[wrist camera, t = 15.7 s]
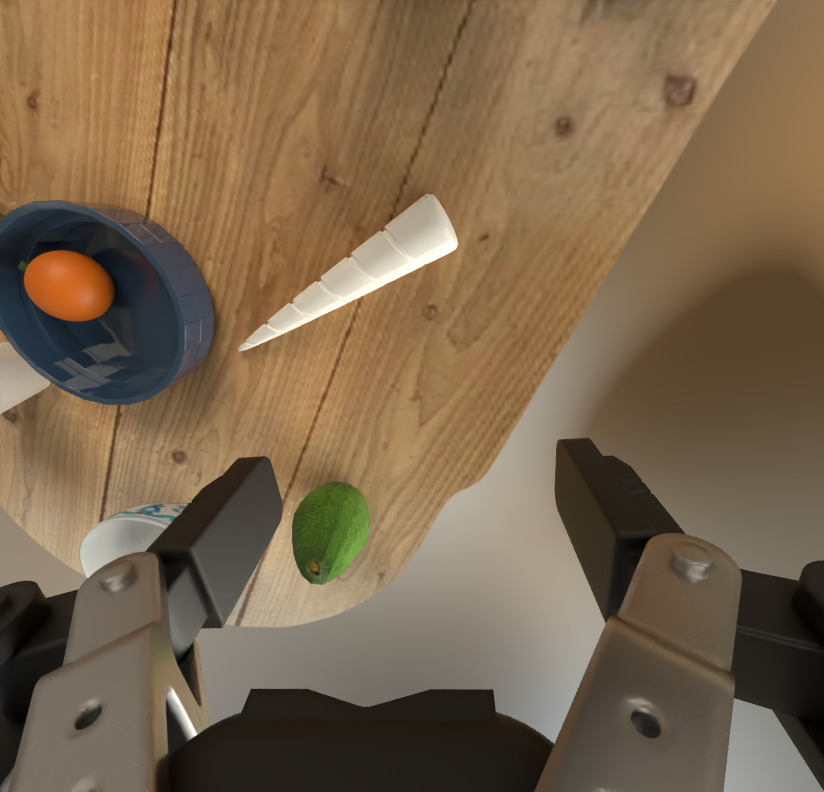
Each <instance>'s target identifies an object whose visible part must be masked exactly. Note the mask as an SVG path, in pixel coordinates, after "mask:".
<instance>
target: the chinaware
mask: <svg viewBox="0 0 824 792" xmlns="http://www.w3.org/2000/svg"><path fill="white" fill-rule="evenodd" d="M187 505H188V504H171V503H151V504H144V505H140V506H136V507H132V508H129V509H127V510H124V511H121V512H119V513H117V514H115V515H113V516H111V517H109V518H107V519H105V520H103V521H102V522H100V523H98V524H97V525H95V526H94V527H93V528H91V529H90V530H89V531H88V532H87V533H86V534H85V536H84V537H83V539H82V541H81V544H80V548H79V560H80V564H81V567H82V570H83V572H84V574H85V576H86V578H87V579H88V578H89V577H90V576H91V575H92V574H93V573H94V572H96V571H97V570H98V569H100V568H101V567H103V566H104V565H106V564H107V563H109V562H111V561H113V560H115V559H117V558H119V557H122V556H125V555H127V554H131V553H135V552H145V551H146V550H147V549H148V548H149V546H150V545H151V544H152V543H153V542H154V541H155V540H156V539H157V538H158V537H159V536H160V534H161V533H162V532H163V531H164V530H165V529H166V528H167V527H168V526H169V525H170V524H171V523H172V521H173V520H174V519H175V518H176V517H177V516H178V515H179V514H182V511H183V509H184V508H185V507H186V506H187Z"/></svg>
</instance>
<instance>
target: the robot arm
mask: <svg viewBox="0 0 824 792" xmlns="http://www.w3.org/2000/svg"><path fill="white" fill-rule="evenodd" d="M555 499H556V505H557V509H558V512H559V514H560V517H561V519H562V521H563V524H564V526H565V529H566V531H567V533H568V535H569V537H570V540H571V543H572V545H573V547H574V550H575V552H576V554H577V557H578V559H579V562H580V564H581V566H582V568H583V571H584V573H585V576H586V578H587V580H588V583H589V585H590V587H591V590H592V592H593V594H594V597H595V599H596V602H597V604H598V606H599V609H600V611H601V613H602V615H603V618H604V620H605V623H606V625H605V628H604V629H603V632H602V634H601V636H600V639H599V641H598V643H597V646H596V648H595V650H594V653H593V655H592V657H591V660H590V662H589V664H588V667H587V669H586V672H585V674H584V676H583V679H582V681H581V683H580V686H579V688H578V690H577V693H576V695H575V697H574V700H573V702H572V704H571V707H570V709H569V711H568V714H567V716H566V719H565V721H564V723H563V726H562V728H561V730H560V733H559V735H558V737H557V740H556V742H555V744H554V743H553V742H551V741H550V740H549V739H547V738H546V737H545V736H544V735H542V734H541V733H539V732H538V731H536V730H535V729H533V728H531V727H529V726H528V725H526V724H525V723H522V722H520V721H518V720H516V719H514V718H512V717H510V716H507V715H503V714H500V713H497V712H496V710H495V702H494V693H493V690H456V689H455V690H453V689H452V690H451V689H448V690H447V689H440V690H439V689H434V690H432V689H431V690H427V691H424V692H420V693H417V694H413V695H410V696H406V697H403V698H399V699H396V700H392V701H389V702H386V703H382V704H378V705H375V706H370V707H361V706H357V705H354V704H351V703H348V702H345V701H342V700H339V699H336V698H333V697H330V696H327V695H324V694H321V693H318V692H315V691H312V690H309V689H251V691H250V693H249V695H248V698H247V700H246V703H245V705H244V707H243V710H242V712H241V713H238V714H235V715H233V716H230V717H228V718H226V719H223V720H221V721H219V722H217V723H215V724H214V725H212V726H211V724H210V719H209V714H208V707H207V701H206V694H205V687H204V680H203V674H202V667H201V660H200V654H199V648H198V645H197V642H196V640H195V637H196V636H197V634H198V632H199V631H200V629H201V628H223V626H224V624H225V623H226V621H227V619H228V617H229V615H230V614H231V612H232V610H233V608H234V606H235V604H236V603H237V601H238V599H239V597H240V595H241V593H242V592H243V590H244V588H245V586H246V584H247V582H248V581H249V579H250V577H251V575H252V573H253V571H254V570H255V568H256V566H257V564H258V562H259V560H260V559H261V557H262V555H263V553H264V551H265V549H266V548H267V546H268V544H269V542H270V540H271V538H272V537H273V535H274V533H275V531H276V529H277V527H278V526H279V524H280V521H281V518H282V511H283V505H282V499H281V496H280V492H279V489H278V485H277V482H276V478H275V475H274V471H273V468H272V464H271V462H270V460H269V458H267V457H265V456H262V457H246V458H238V459H237V460H236V461H235V462H234V463H233V464H232V465H231V466H230V468H229V469H228V470H227V471H226V472H225V473H224V474H223V476H220V477H219V478H217V479H216V480H214V481H213V482H211V483H210V484H208V485H207V486H205V487H204V488H203V489H202V490H201V491H200V492H199V493H198V494H197V495H196V496H195V497H194V499H193V500H192V503H189V504H188V505H187V506H186V507H185V508H184V509H183V511H182V514H179V515H178V516H177V517H176V518H175V519H174V520H173V521H172V523H171V524H170V525H169V526H168V527H167V528H166V529H165V530H164V531H163V532H162V533H161V534H160V536H159V537H158V538H157V539H156V540H155V541H154V542H153V543H152V544H151V545H150V546H149V548H148V549H147V550H146V551H145V552H135V553H131V554H127V555H125V556H122V557H119V558H117V559H115V560H113V561H111V562H109V563H107V564H106V565H104V566H103V567H101V568H100V569H98V570H97V571H96V572H94V573H93V574H92V575H91V576H90V577H89V578H88V579H87V580H86V581H85V582H84V583H83V584H82V585H81V587H80V589H79V590H74V591H71V592H67V593H63V594H60V595H56V596H52V597H49V598H46V597H45V596H44V594H43V593H42V591H41V589H40V588H39V586H38V585H37V583H35V582H33V581H20V582H16V583H12V584H9V585H6V586H3V587H0V792H723V790H724V781H725V771H726V763H727V754H728V745H729V735H730V727H731V718H732V709H733V700H734V698H736V699H739V700H742V701H746V702H749V703H752V704H755V705H759V706H762V707H765V708H768V709H772V710H773V712H774V713H775V715H776V716H777V718H778V720H779V721H780V723H781V724H782V726H783V727H784V729H785V731H786V732H787V734H788V735H789V737H790V738H791V740H792V741H793V743H794V745H795V746H796V748H797V749H798V751H799V753H800V754H801V756H802V757H803V759H804V760H805V762H806V764H807V765H808V767H809V768H810V770H811V771H812V773H813V775H814V776H815V778H816V779H817V781H818V782H819V784H820V786H821V787H822V789H823V790H824V560H823V561H815V562H811V563H809V564H807V565H806V566H805V567H804V568H803V571H802V573H801V576H800V578H799V581H797V580H791V579H787V578H782V577H776V576H771V575H766V574H761V573H756V572H751V571H747V570H743V569H740V568H739V567H738V565H737V564H736V563H735V561H734V560H733V559H732V558H731V557H730V556H729V555H728V554H726V553H725V552H724V551H722V550H721V549H720V548H718V547H716V546H715V545H713V544H711V543H709V542H707V541H704V540H702V539H699V538H697V537H693V536H690V535H686V534H685V533H684V531H683V530H682V529H681V528H680V527H679V525H678V524H677V523H676V522H675V521H674V519H673V518H672V517H671V515H670V514H669V513H668V512H667V511H666V509H665V508H664V507H663V506H662V504H661V503H660V502H659V501H658V499H657V498H656V497H655V496H654V495H653V494H651V491H650V490H649V489H648V487H647V486H646V485H645V484H644V483H642V481H641V479H640V477H639V476H638V475H637V474H636V472H635V471H634V470H633V469H632V468H631V467H630V466H629V465H627V464H626V463H624V462H622V461H621V460H619V459H618V458H616V457H614V456H602V454H601V453H600V452H599V450H598V449H597V448H596V446H595V445H594V444H593V442H592V441H591V440H590V439H589V438H579V439H561V440H558V442H557V448H556V472H555Z"/></svg>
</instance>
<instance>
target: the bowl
mask: <svg viewBox="0 0 824 792" xmlns="http://www.w3.org/2000/svg"><path fill="white" fill-rule="evenodd" d="M57 250H65V251H73V252H77V253H80V254H83V255H86V256H88V257H90V258H92V259H93V260H95V261H96V262H98V263H99V264H100V265H101V266H102V267H103V268H104V269H105V270H106V271H107V272H108V274H109V275H110V277H111V279H112V281H113V284H114V288H115V297H114V301H113V303H112V305H111V307H110V308H109V309H108V310H107V311H106V312H105V313H104V314H102V315H101V316H99V317H97V318H95V319H92V320H87V321H67V320H62V319H59V318H56V317H54V316H51V315H49V314H48V313H46V312H44V311H43V310H41V309H40V308H39V307H38V306H37V305H35V303H34V302H33V301H32V300H31V299H30V297H29V296H28V294H27V292H26V289H25V285H24V274H25V271H23V270H20V269H18V266H19V264H20V262H21V261H23V262H26V263H28V264H29V263H30V262H31V261H32V260H33V259H35V258H36V257H37V256H39V255H41V254H44V253H46V252H50V251H57ZM0 330H1V331H2V332H3V334H4V335H5V337H6V338H7V340H8V341H9V343H10V344H11V345H12V347H13V348H14V350H15V351H16V352H17V353H18V354H19V355H20V356H21V357H22V358H23V359H24V360H25V361H26V362H27V363H28V364H29V365H30V366H31V367H32V368H33V369H34V370H35V371H36V372H37V373H39V374H40V375H41V376H43V377H44V378H46V379H47V380H48V381H50V382H51V383H53V384H54V385H56V386H57V387H59V388H60V389H62V390H64V391H67V392H69V393H71V394H73V395H75V396H77V397H80V398H82V399H85V400H89V401H93V402H98V403H102V404H107V405H129V404H134V403H137V402H141V401H144V400H148V399H150V398H152V397H154V396H156V395H158V394H159V393H161V392H163V391H164V390H166V389H168V388H170V387H171V386H173V385H175V384H177V383H178V382H180V381H182V380H183V379H185V378H186V377H188V376H189V375H190V374H192V373H193V372H195V371H196V370H197V369H198V367H199V366H200V365H201V363H202V362H203V361H204V359H205V358H206V357H207V354H208V351H209V348H210V345H211V342H212V339H213V336H214V311H213V306H212V302H211V297H210V293H209V289H208V287H207V285H206V283H205V281H204V279H203V277H202V275H201V272H200V270H199V268H198V266H197V265H196V263H195V262H194V261H193V259H192V258H191V257H190V256H189V254H188V253H187V252H186V250H185V249H184V248H183V246H182V245H181V244H180V243H179V242H178V241H177V240H176V239H175V238H173V237H172V236H171V235H170V234H169V233H168V232H167V231H165V230H164V229H163V228H162V227H161V226H160V225H158V224H157V223H155V222H153V221H151V220H149V219H147V218H146V217H144V216H142V215H140V214H138V213H136V212H134V211H132V210H128V209H124V208H120V207H116V206H112V205H108V204H97V203H85V202H73V201H61V200H58V201H34V202H31V203H28V204H26V205H23V206H21V207H19V208H16V209H14V210H11V211H10V212H9V213H8V214H7V215H6V216H5V217H4V218H3V219H2V220H1V221H0Z"/></svg>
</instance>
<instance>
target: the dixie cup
mask: <svg viewBox="0 0 824 792" xmlns="http://www.w3.org/2000/svg"><path fill="white" fill-rule="evenodd" d="M50 384H51V382H50V381H48V380H47V379H46V378H44V377H43V376H41V375H40V374H39V373H37V372H36V371H35V370H34V369H33V368H32V367H31V366H30V365H29V364H28V363H27V362H26V361H25V360H24V359H23V358H22V357H21V356H20V355H19V354H18V353H17V352H16V351H15V350H14V348H13V347H12V345H11V344H10V343H9V342H4V343H0V414H1V413H3V412H5V411H7V410H9V409H10V408H12V407H14V406H16V405H17V404H19V403H21V402H23V401H25V400H26V399H28V398H30V397H32V396H33V395H35V394H37V393H39V392H41V391H42V390H44V389H46V388H47V387H48V386H49V385H50Z"/></svg>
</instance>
